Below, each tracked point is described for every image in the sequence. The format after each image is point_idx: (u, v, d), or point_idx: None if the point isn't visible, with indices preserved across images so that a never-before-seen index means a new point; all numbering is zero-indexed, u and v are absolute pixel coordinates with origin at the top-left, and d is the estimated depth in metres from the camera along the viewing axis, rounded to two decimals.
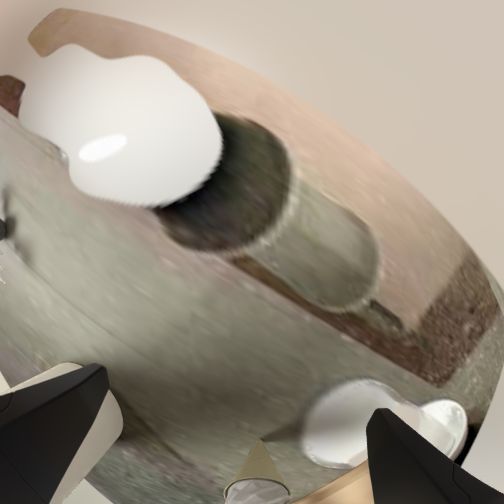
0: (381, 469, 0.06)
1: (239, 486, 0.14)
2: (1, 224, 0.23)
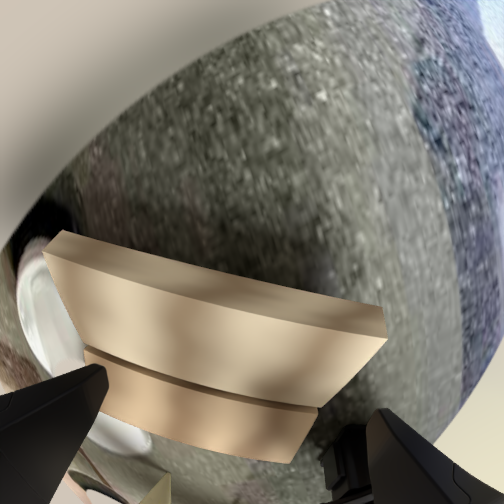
0: (381, 469, 0.06)
1: None
2: None
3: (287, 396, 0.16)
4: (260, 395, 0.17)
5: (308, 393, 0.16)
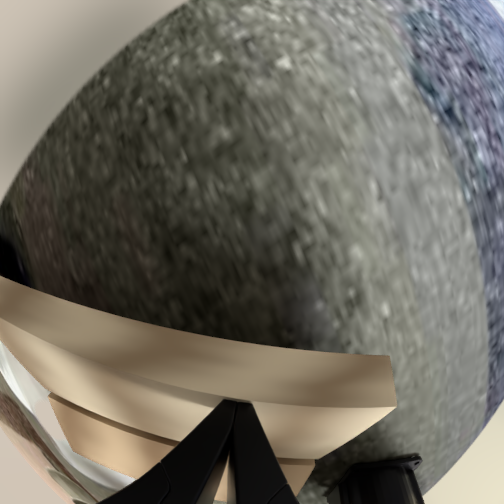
0: (228, 467, 0.06)
1: None
2: None
3: None
4: None
5: (298, 451, 0.11)
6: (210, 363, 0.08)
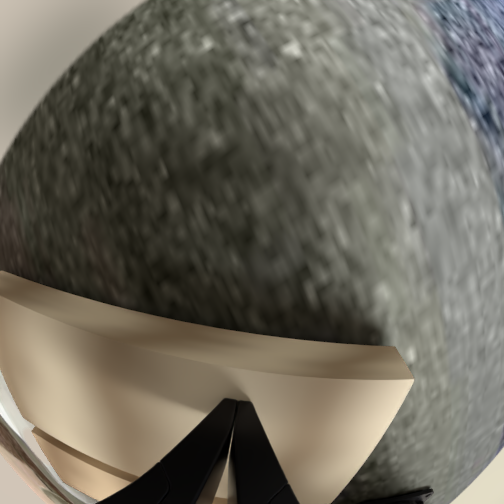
0: (229, 467, 0.06)
1: None
2: None
3: None
4: None
5: (309, 487, 0.09)
6: (224, 345, 0.08)
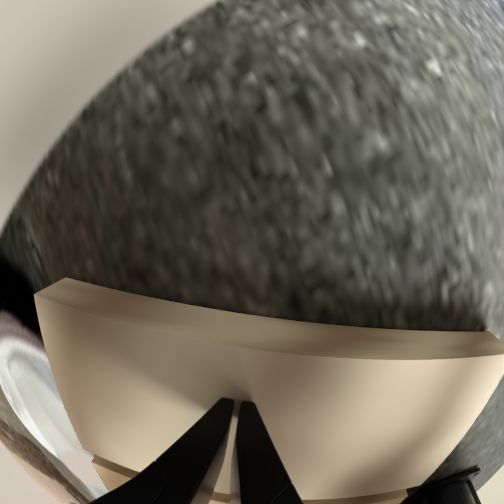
0: (232, 467, 0.06)
1: None
2: None
3: (388, 482, 0.09)
4: (351, 493, 0.09)
5: (415, 469, 0.08)
6: (390, 342, 0.08)
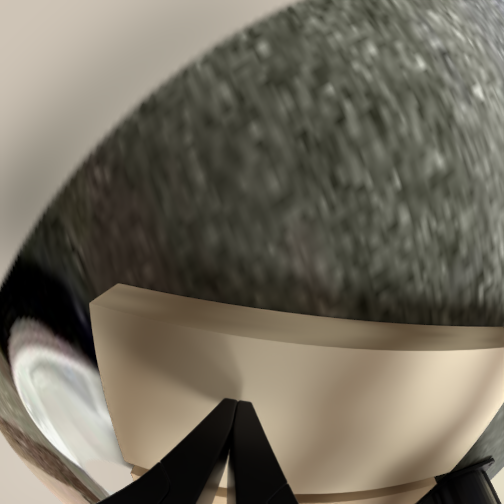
0: (228, 466, 0.06)
1: None
2: None
3: (425, 469, 0.09)
4: (393, 482, 0.09)
5: (449, 455, 0.09)
6: (441, 336, 0.08)
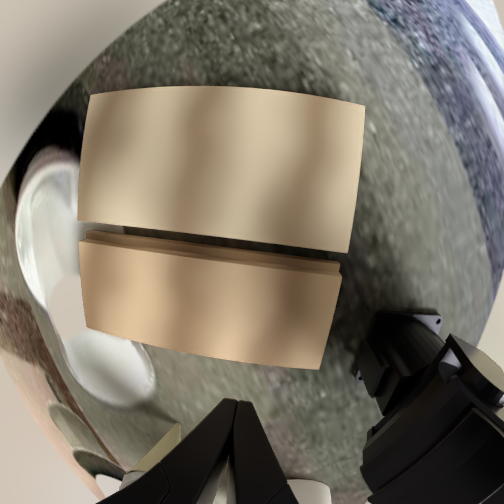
0: (228, 467, 0.06)
1: None
2: None
3: (304, 226, 0.16)
4: (274, 235, 0.16)
5: (325, 211, 0.16)
6: None
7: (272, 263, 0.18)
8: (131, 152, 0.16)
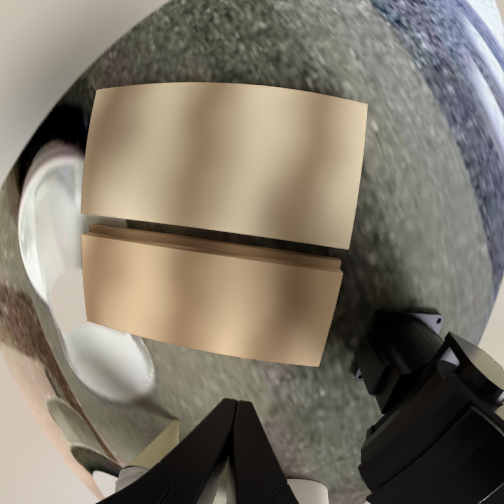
0: (228, 467, 0.06)
1: None
2: None
3: (306, 221, 0.16)
4: (276, 230, 0.16)
5: (327, 207, 0.16)
6: None
7: (273, 258, 0.18)
8: (136, 146, 0.16)
